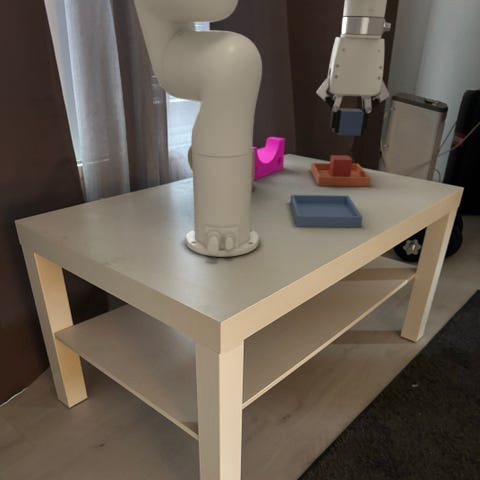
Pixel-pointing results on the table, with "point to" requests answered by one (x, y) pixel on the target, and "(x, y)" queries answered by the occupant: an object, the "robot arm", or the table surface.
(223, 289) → the table surface
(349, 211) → the blue tray
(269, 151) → the toy block
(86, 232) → the table surface
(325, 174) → the red tray
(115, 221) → the table surface
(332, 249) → the table surface
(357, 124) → the blue block
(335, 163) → the red block
